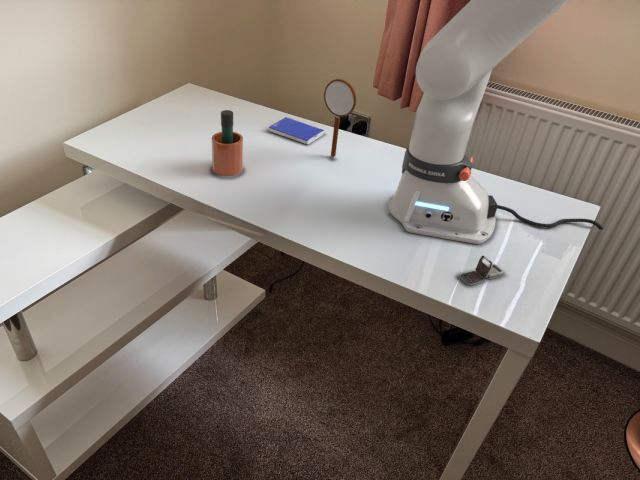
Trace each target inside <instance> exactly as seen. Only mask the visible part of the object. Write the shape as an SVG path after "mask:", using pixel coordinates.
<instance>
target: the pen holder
mask: <svg viewBox="0 0 640 480" xmlns="http://www.w3.org/2000/svg"><path fill="white" fill-rule="evenodd" d="M211 167H212V168H211V169H212V171H213V172H214V174H216V175H218V176H221V177H234V176H237V175H239V174H241V173H242V172H243V170H244V137H243V135H242V134H241V133H239V132H236V131H233V144H222V131H218V132H216V133H214V134H213V135H211Z"/></svg>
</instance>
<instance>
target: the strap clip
mask: <svg viewBox="0 0 640 480" xmlns="http://www.w3.org/2000/svg"><path fill="white" fill-rule="evenodd" d="M484 260H485V261H487V262H488V263H489V264H486V263H485V262H484ZM504 272H505V271H504V270H503V269H502V268H500V267H499V266H498V265H497V264H495V263H493V261H492V260H491V259H489V258H488V257H487V256H486V255H481V256H480V258H479V260H478V262H477V264H476V267H475V270H472V271H468V272H465V273H462V274H460V276H459V277H460V279H461V280H462V281H463V282H464V283H465V284H467V285H469V286H474V285H477V284H479V283H482V282H484V280H485V279H488V280H492V279H496V278H500V277H501V276H503V275H504ZM466 278H467V279H468V280H469V281H468V280H467V279H466Z"/></svg>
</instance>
